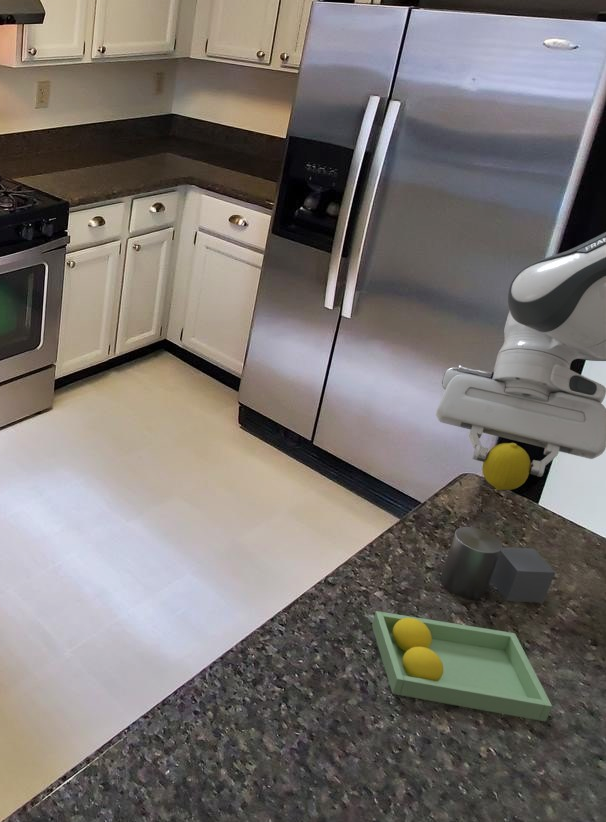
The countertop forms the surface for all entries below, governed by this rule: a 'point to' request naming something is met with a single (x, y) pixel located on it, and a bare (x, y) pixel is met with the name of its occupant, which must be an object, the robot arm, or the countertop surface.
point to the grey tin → (470, 563)
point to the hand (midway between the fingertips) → (507, 467)
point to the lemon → (506, 466)
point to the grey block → (522, 575)
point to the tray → (467, 669)
